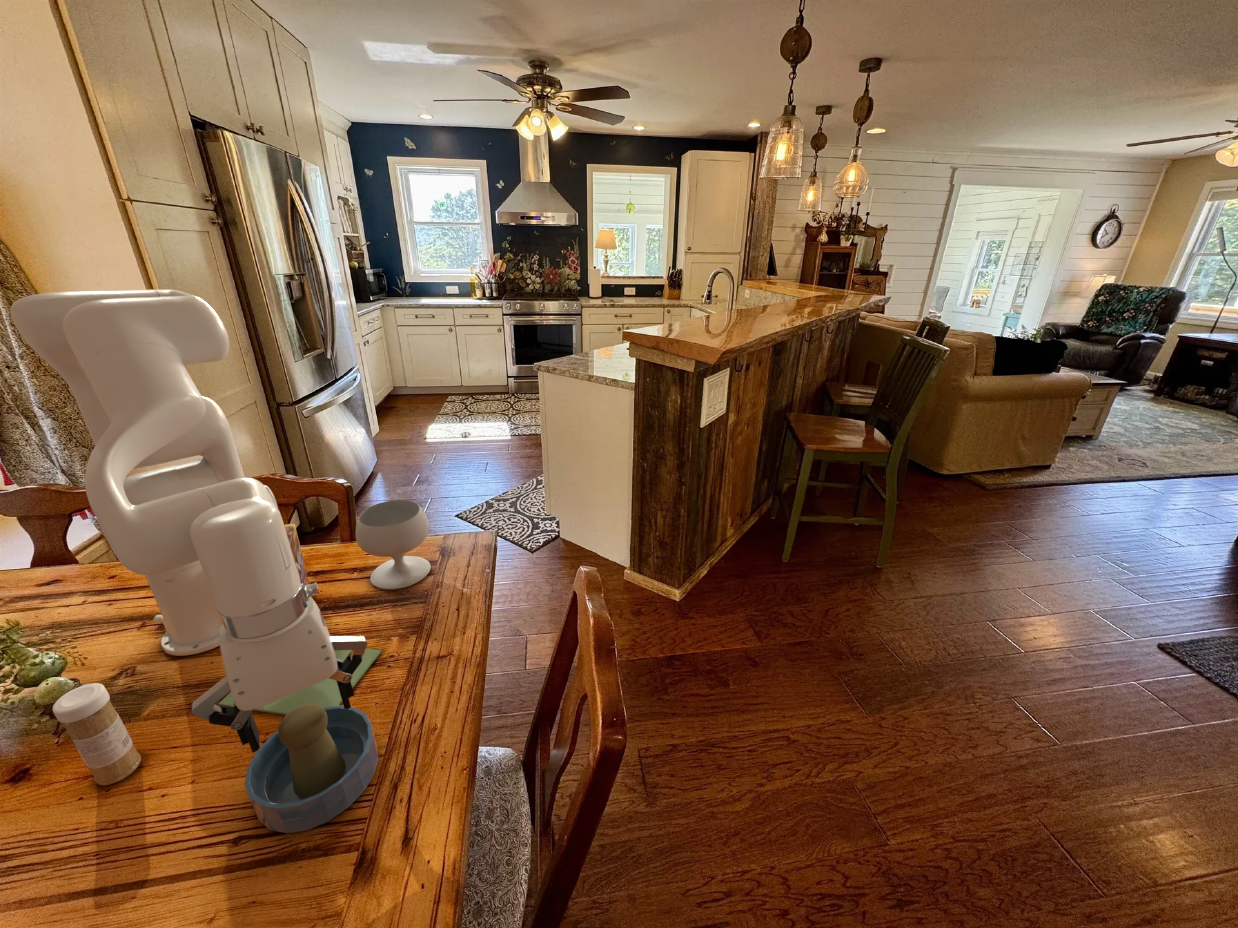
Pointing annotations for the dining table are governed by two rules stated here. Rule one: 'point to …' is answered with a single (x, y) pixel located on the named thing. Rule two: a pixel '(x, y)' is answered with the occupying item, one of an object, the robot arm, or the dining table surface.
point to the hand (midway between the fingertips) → (302, 721)
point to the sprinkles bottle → (97, 733)
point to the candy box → (296, 552)
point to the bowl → (295, 814)
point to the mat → (316, 689)
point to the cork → (310, 750)
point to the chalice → (394, 542)
